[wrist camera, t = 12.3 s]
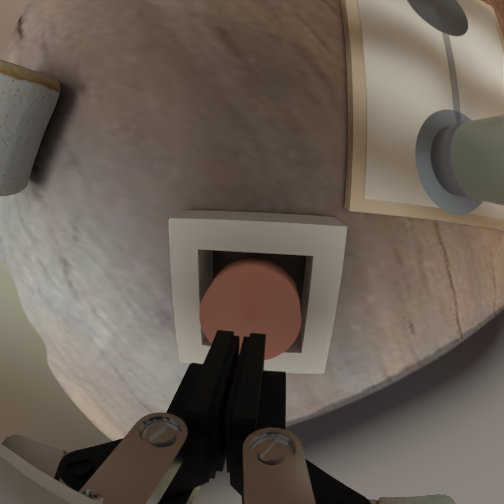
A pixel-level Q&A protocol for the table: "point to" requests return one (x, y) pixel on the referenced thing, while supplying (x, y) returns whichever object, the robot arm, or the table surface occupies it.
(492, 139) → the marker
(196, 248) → the button housing
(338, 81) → the table surface
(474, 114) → the board
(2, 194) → the ceramic mug
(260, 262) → the button
